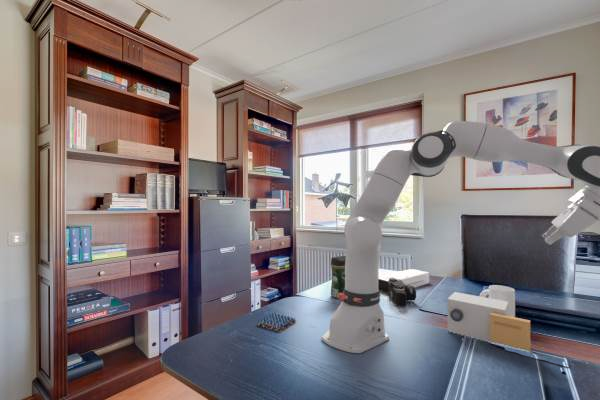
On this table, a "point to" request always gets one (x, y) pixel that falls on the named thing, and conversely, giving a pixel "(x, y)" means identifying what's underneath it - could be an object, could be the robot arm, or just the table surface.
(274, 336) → the table surface
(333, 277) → the coffee jar
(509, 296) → the mug
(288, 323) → the woven mat
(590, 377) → the table surface
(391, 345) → the table surface
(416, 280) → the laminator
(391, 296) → the camera
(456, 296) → the housing
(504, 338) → the side door
